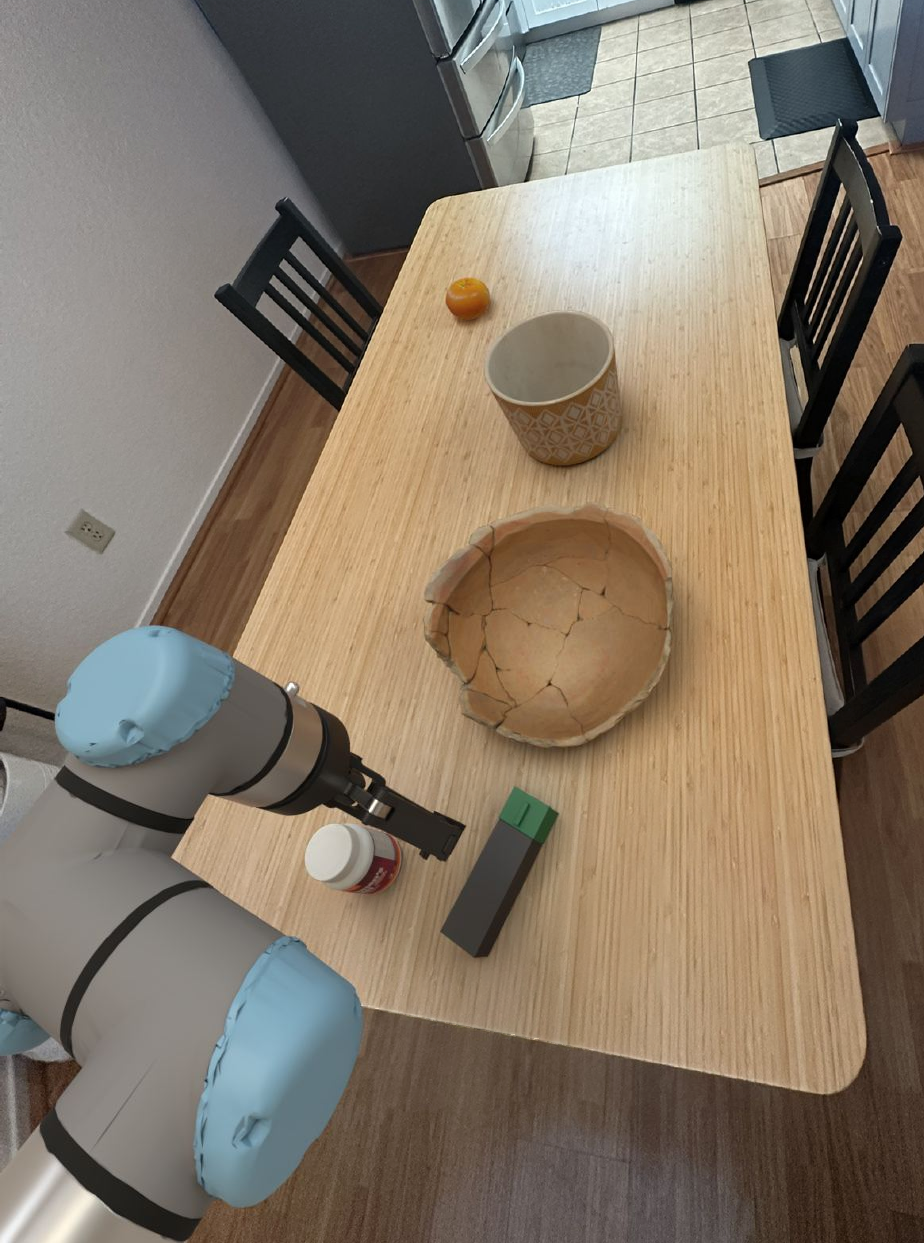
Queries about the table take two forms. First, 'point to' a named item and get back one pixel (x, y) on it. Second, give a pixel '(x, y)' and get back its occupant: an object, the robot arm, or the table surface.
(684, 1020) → the table surface
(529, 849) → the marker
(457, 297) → the fruit
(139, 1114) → the robot arm
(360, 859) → the pill bottle
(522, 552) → the ceramic bowl
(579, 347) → the planter
